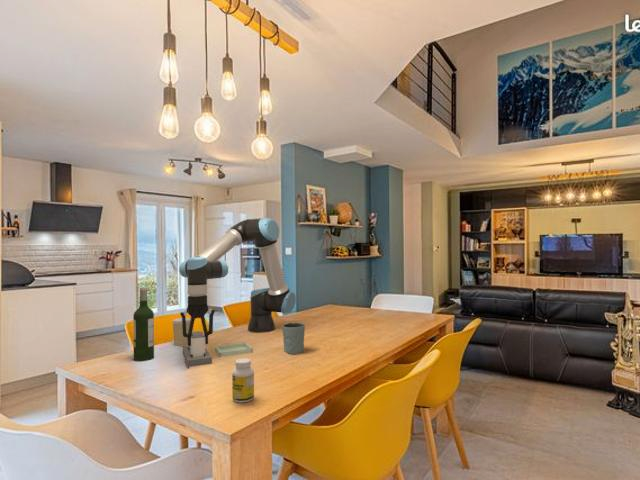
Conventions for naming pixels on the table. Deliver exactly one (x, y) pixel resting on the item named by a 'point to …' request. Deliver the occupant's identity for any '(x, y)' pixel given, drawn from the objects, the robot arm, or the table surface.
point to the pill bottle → (243, 381)
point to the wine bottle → (143, 329)
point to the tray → (233, 349)
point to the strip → (196, 358)
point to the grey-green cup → (293, 338)
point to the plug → (198, 344)
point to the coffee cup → (180, 332)
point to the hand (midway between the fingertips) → (198, 352)
